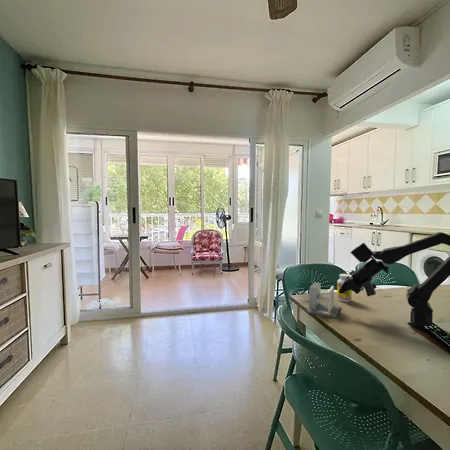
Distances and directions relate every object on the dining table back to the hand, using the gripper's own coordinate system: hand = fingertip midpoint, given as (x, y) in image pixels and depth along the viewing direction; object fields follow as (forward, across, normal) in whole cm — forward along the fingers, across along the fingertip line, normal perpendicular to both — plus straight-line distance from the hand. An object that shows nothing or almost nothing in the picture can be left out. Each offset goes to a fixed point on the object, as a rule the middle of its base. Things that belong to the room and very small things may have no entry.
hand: (339, 292), depth 118 cm
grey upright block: (+10, -1, -1) cm, 10 cm away
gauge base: (+11, 0, -2) cm, 11 cm away
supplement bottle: (+6, +20, -7) cm, 22 cm away
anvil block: (+13, 0, +2) cm, 13 cm away
